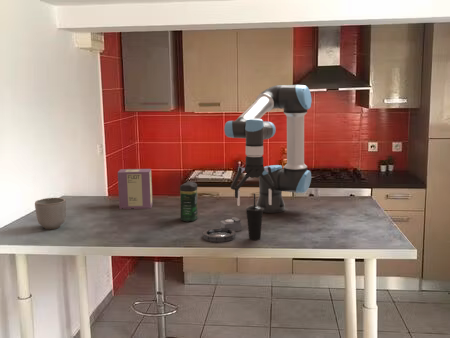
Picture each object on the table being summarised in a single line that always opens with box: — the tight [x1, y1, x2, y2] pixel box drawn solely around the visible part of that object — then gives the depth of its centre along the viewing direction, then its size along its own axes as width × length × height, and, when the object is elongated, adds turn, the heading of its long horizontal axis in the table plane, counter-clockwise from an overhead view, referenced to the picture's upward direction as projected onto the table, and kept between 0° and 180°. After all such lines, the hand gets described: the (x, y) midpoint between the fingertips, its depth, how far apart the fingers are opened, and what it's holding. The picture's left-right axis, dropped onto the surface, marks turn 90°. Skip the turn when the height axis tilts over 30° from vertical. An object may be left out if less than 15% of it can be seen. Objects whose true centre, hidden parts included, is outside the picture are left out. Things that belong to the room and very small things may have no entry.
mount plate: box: [202, 227, 237, 243], centre depth 230 cm, size 14×14×2 cm
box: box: [117, 168, 153, 210], centre depth 284 cm, size 17×9×20 cm, turn 92°
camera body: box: [219, 216, 242, 232], centre depth 241 cm, size 8×6×5 cm
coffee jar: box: [179, 181, 199, 222], centre depth 258 cm, size 10×8×19 cm
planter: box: [34, 197, 67, 231], centre depth 247 cm, size 14×14×13 cm
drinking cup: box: [245, 193, 264, 241], centre depth 226 cm, size 8×8×20 cm
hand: (254, 204), depth 225 cm, fingers open, 13 cm apart
